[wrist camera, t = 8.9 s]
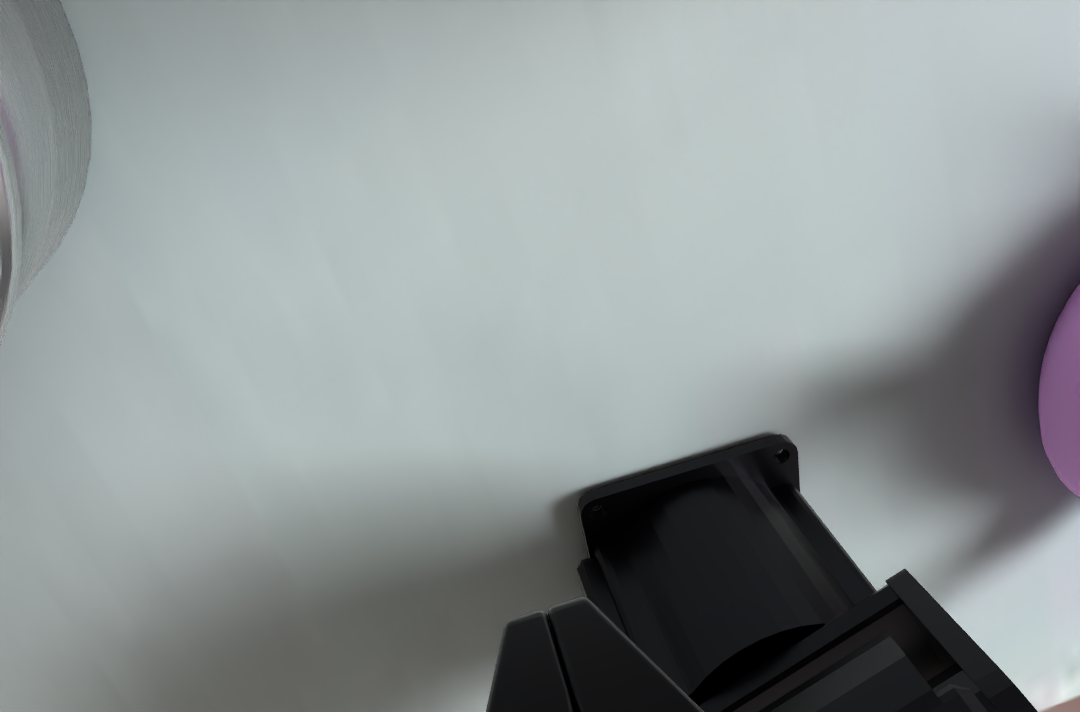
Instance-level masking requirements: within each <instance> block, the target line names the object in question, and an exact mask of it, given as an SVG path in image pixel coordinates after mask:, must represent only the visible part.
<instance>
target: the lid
mask: <svg viewBox="0 0 1080 712" xmlns="http://www.w3.org/2000/svg"><path fill="white" fill-rule="evenodd" d="M1 273H2V269H1V249H0V282H1Z"/></svg>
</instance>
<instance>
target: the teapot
mask: <svg viewBox="0 0 1080 712" xmlns="http://www.w3.org/2000/svg"><path fill="white" fill-rule="evenodd" d="M1039 420H1040V429H1041V438H1042V442H1043V446H1044V449H1045V452H1046V455H1047V457H1048V459H1049V461H1050V463H1051V465H1052V466H1053V468H1054V470H1055V472H1056V474H1057V476H1058V477H1059V479H1060V480H1061V481H1062V482H1063V483H1064V485H1065V486H1066V487H1067V488H1068V489H1069V490H1070V491H1072V492H1073V493H1074V494H1076V495H1077V496H1078V497H1080V283H1079V285H1078V286H1077V287H1076V289H1075V290H1074V292H1073V293H1072V295H1071V296H1070V298H1069V299H1068V301H1067V303H1066V305H1065V306H1064V308H1063V310H1062V312H1061V314H1060V315H1059V317H1058V319H1057V322H1056V324H1055V326H1054V328H1053V331H1052V333H1051V335H1050V338H1049V341H1048V344H1047V347H1046V350H1045V353H1044V357H1043V362H1042V367H1041V372H1040V383H1039Z"/></svg>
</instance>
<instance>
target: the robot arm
mask: <svg viewBox="0 0 1080 712" xmlns="http://www.w3.org/2000/svg"><path fill="white" fill-rule="evenodd" d="M782 449H783V450H782ZM779 450H782V452H781V453H780V454H778V455H776V456H774V455H775V453H776V452H777V451H779ZM600 505H601V508H600V509H598V510H596V511H590V510H591V509H592V508H593V507H595V506H600ZM577 509H578V514H579V518H580V522H581V526H582V531H583V535H584V539H585V544H586V548H587V552H588V557H589V558H587V559H584V560H581V562H580V564H579V566H578V568H577V572H578V576H579V580H580V584H581V588H582V592H583V597H579V598H576V599H573V600H569V601H566V602H563V603H560V604H557V605H554V606H552V607H550V609H549V610H548V616H547V614H546V613H545V612H544V611H542V610H538V611H534V612H531V613H528V614H525V615H522V616H518V617H515V618H512V619H510V620H508V621H507V623H506V624H505V627H504V630H503V634H502V639H501V643H500V648H499V653H498V658H497V662H496V667H495V672H494V676H493V681H492V686H491V690H490V695H489V700H488V704H487V709H486V712H1037V710H1036V709H1035V708H1034V707H1033V705H1032V704H1031V703H1030V702H1029V701H1028V700H1027V698H1026V697H1025V696H1024V695H1023V694H1022V693H1021V691H1020V690H1019V689H1018V688H1017V687H1016V686H1015V685H1014V683H1013V682H1012V681H1011V680H1010V679H1009V678H1008V677H1007V676H1006V675H1005V674H1004V672H1003V671H1002V670H1001V669H1000V668H999V667H998V666H997V665H996V664H995V663H994V662H993V661H992V660H991V659H990V657H989V656H988V655H987V654H986V653H985V652H984V651H983V650H982V649H981V648H980V647H979V646H978V645H977V644H976V643H975V642H974V641H973V640H972V639H971V637H970V636H969V635H968V634H967V633H966V632H965V631H964V630H963V629H962V628H961V627H960V626H959V625H958V624H957V623H956V622H955V621H954V620H953V618H952V617H951V616H950V615H949V614H948V613H947V612H946V611H945V610H944V609H943V608H942V607H941V606H940V605H939V604H938V603H937V602H936V601H935V599H934V598H933V597H932V596H931V595H930V594H929V593H928V592H927V591H926V590H925V589H924V588H923V587H922V586H921V585H920V584H919V583H918V582H917V581H916V579H915V578H914V577H913V576H912V575H911V574H910V573H909V572H908V571H907V570H906V569H903V570H902V571H900V572H899V573H897V574H896V575H894V576H892V577H891V578H889V579H888V580H886V583H887V584H888V585H886V586H884V587H883V588H881V589H880V590H878V591H876V589H875V588H874V587H873V586H872V584H871V583H870V582H869V581H868V579H867V578H866V577H865V575H864V574H863V573H862V572H861V570H860V569H859V568H858V566H857V565H856V564H855V563H854V561H853V560H852V559H851V558H850V556H849V555H848V554H847V552H846V551H845V550H844V549H843V547H842V546H841V545H840V543H839V542H838V541H837V540H836V538H835V537H834V536H833V534H832V533H831V532H830V531H829V529H828V528H827V527H826V526H825V524H824V523H823V522H822V520H821V519H820V518H819V517H818V515H817V514H816V513H815V511H814V510H813V509H812V508H811V506H810V505H809V504H808V503H807V501H806V500H805V499H804V497H803V496H802V495H801V494H800V484H799V465H798V451H797V448H796V446H795V445H794V444H793V442H792V441H791V440H790V439H789V438H788V437H787V436H785V435H781V434H779V435H773V436H770V437H767V438H763V439H760V440H757V441H753V442H750V443H747V444H743V445H740V446H737V447H734V448H730V449H727V450H724V451H720V452H717V453H714V454H710V455H707V456H704V457H701V458H697V459H694V460H691V461H687V462H684V463H681V464H677V465H674V466H671V467H668V468H664V469H661V470H658V471H654V472H651V473H648V474H644V475H641V476H638V477H635V478H631V479H628V480H625V481H621V482H618V483H615V484H611V485H608V486H605V487H602V488H598V489H595V490H592V491H589V492H587V493H585V494H584V495H583V496H582V497H581V498H580V500H579V502H578V506H577ZM548 618H549V619H548ZM549 621H550V622H549ZM550 625H551V626H550Z"/></svg>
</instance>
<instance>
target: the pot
mask: <svg viewBox="0 0 1080 712" xmlns="http://www.w3.org/2000/svg"><path fill="white" fill-rule="evenodd" d="M90 153H91V114H90V105H89V97H88V88H87V82H86V78H85V74H84V70H83V66H82V62H81V58H80V54H79V50H78V46H77V43H76V41H75V38H74V35H73V33H72V30H71V28H70V25H69V23H68V20H67V18H66V15H65V13H64V10H63V7H62V5H61V3H60V1H59V0H0V249H1V269H2V273H1V282H0V344H1V342H2V339H3V336H4V333H5V330H6V327H7V324H8V321H9V318H10V315H11V312H12V309H13V306H14V303H15V302H16V300H17V299H18V298H19V296H20V295H21V294H22V293H23V291H24V290H25V289H26V288H27V286H28V285H29V284H30V282H31V281H32V280H33V279H34V277H35V276H36V275H37V274H38V272H39V271H40V270H41V269H42V267H43V266H44V265H45V263H46V262H47V261H48V260H49V258H50V257H51V256H52V254H53V253H54V252H55V251H56V249H57V248H58V247H59V245H60V243H61V242H62V240H63V238H64V236H65V234H66V232H67V231H68V229H69V227H70V225H71V223H72V221H73V220H74V217H75V214H76V211H77V209H78V206H79V203H80V200H81V197H82V194H83V191H84V189H85V183H86V178H87V172H88V166H89V161H90Z"/></svg>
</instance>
